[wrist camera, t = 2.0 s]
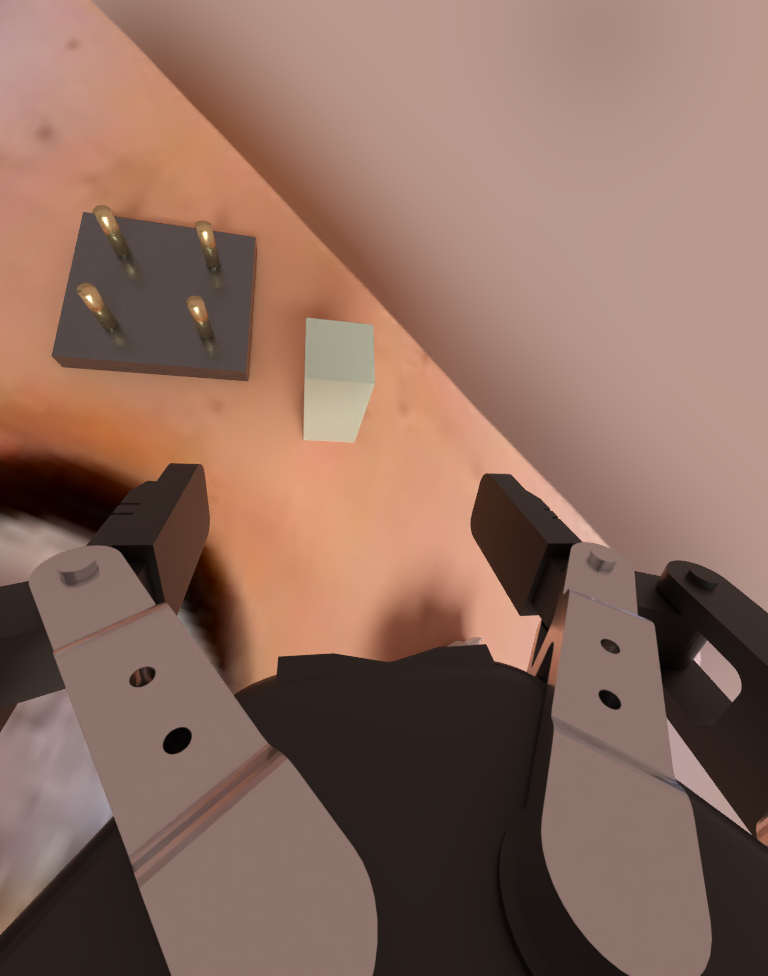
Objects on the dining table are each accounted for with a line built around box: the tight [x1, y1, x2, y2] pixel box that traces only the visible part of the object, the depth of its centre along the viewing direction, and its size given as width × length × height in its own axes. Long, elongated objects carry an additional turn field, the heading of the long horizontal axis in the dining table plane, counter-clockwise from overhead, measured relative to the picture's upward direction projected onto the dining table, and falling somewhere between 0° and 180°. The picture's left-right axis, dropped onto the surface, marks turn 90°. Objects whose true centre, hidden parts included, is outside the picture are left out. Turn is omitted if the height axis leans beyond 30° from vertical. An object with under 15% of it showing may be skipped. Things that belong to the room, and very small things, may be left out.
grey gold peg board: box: [52, 205, 257, 381], centre depth 32 cm, size 14×14×5 cm
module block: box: [303, 318, 375, 442], centre depth 30 cm, size 4×4×10 cm
